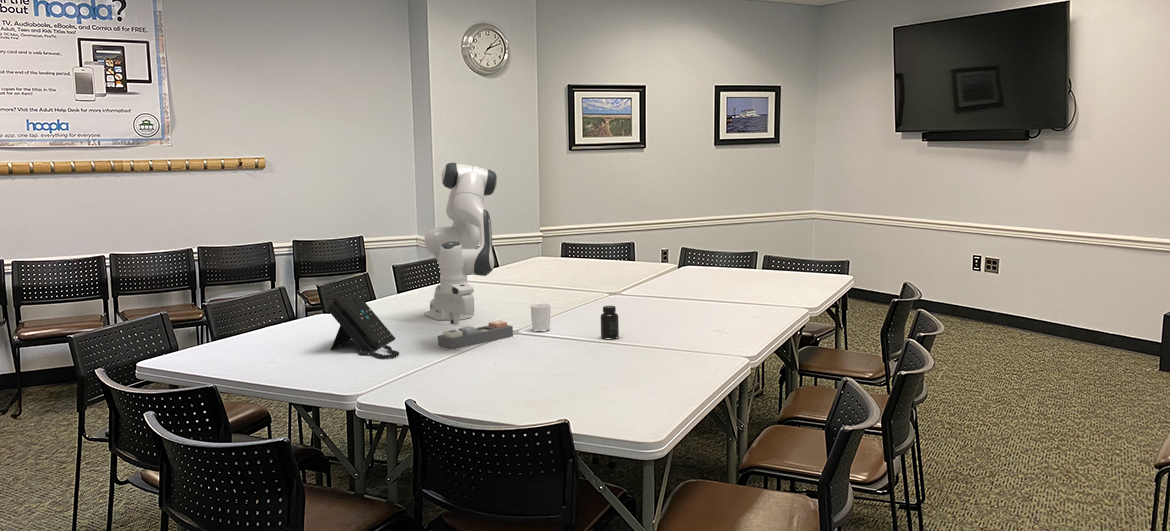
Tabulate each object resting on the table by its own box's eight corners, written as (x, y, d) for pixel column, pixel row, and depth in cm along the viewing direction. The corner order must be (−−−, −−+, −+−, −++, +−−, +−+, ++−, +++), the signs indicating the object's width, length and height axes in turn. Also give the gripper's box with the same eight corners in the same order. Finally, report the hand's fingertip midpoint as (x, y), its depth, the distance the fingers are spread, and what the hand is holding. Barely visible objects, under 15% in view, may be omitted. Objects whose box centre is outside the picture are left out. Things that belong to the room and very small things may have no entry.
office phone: (393, 360, 290) (391, 302, 287) (317, 357, 295) (313, 301, 292) (423, 340, 319) (421, 288, 316) (353, 338, 323) (350, 286, 321)
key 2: (459, 335, 313) (458, 328, 312) (469, 332, 316) (469, 325, 316) (467, 337, 309) (466, 330, 309) (478, 334, 313) (477, 327, 312)
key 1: (443, 338, 308) (443, 331, 307) (454, 336, 311) (454, 329, 311) (451, 340, 304) (451, 333, 304) (462, 338, 308) (462, 331, 307)
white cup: (550, 332, 329) (549, 307, 327) (530, 332, 329) (529, 307, 328) (551, 327, 337) (551, 303, 335) (531, 328, 337) (531, 303, 335)
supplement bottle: (619, 335, 322) (619, 304, 320) (618, 339, 315) (618, 308, 313) (601, 335, 322) (601, 304, 321) (600, 339, 316) (599, 308, 314)
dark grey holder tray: (438, 346, 308) (437, 335, 308) (499, 333, 328) (499, 323, 328) (450, 349, 303) (450, 339, 302) (512, 336, 323) (512, 326, 322)
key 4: (488, 328, 322) (488, 322, 322) (498, 326, 326) (498, 320, 326) (496, 330, 319) (496, 324, 319) (507, 328, 322) (507, 321, 322)
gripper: (428, 285, 310) (430, 322, 312) (462, 290, 296) (464, 329, 298) (442, 283, 314) (444, 319, 316) (476, 288, 300) (478, 326, 302)
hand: (454, 324), depth 307 cm, fingers closed
